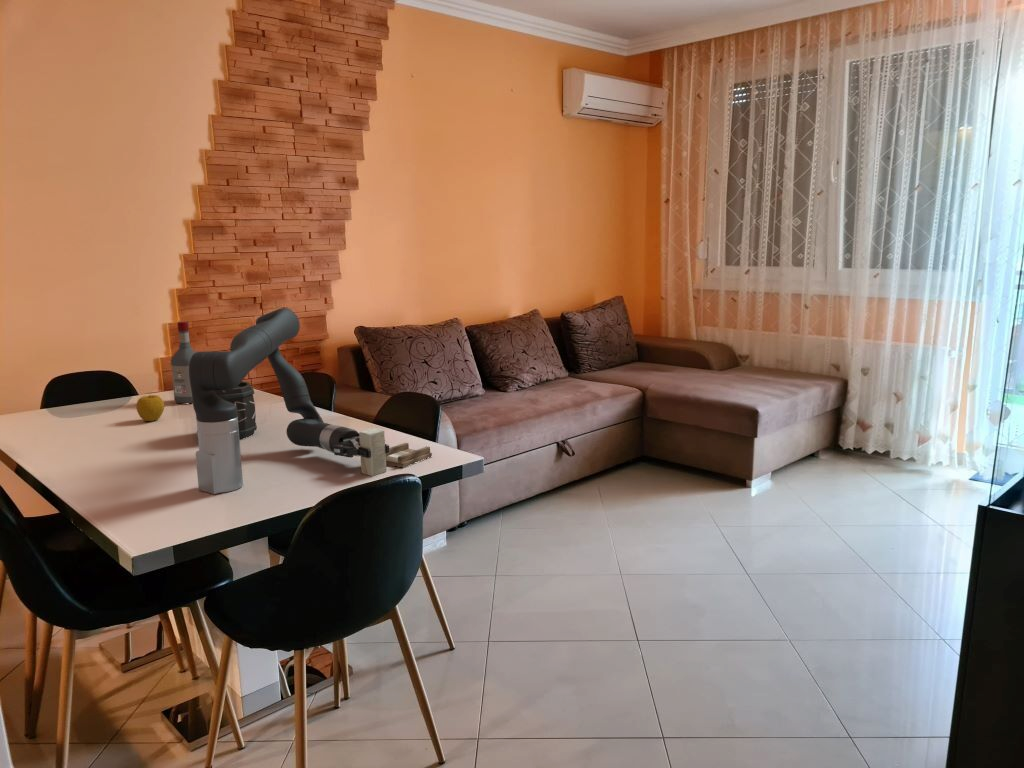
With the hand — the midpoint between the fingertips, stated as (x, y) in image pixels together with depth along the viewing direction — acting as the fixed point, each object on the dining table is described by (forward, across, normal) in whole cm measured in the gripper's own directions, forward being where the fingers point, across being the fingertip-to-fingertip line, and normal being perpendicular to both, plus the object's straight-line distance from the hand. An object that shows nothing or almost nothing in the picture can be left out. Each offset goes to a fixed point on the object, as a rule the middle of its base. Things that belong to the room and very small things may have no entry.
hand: (379, 451), depth 189 cm
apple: (-106, -14, +6) cm, 107 cm away
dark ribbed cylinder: (-67, -6, +6) cm, 68 cm away
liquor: (-127, +9, +6) cm, 127 cm away
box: (-2, 0, +6) cm, 7 cm away
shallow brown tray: (-6, +12, +6) cm, 15 cm away
